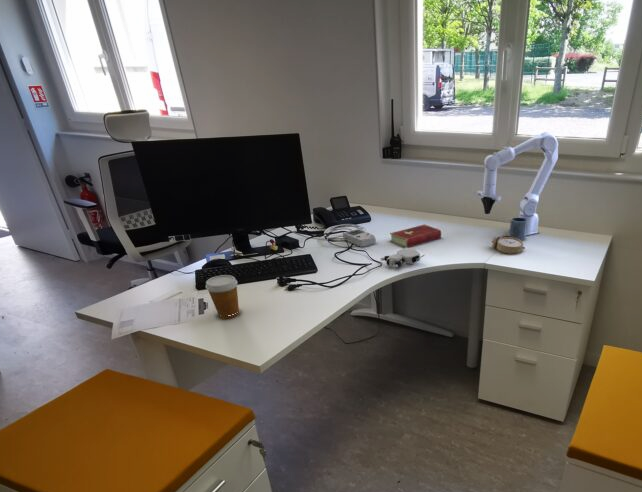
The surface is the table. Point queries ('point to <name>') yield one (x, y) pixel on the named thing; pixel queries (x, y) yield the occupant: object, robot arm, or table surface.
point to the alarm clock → (508, 244)
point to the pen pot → (518, 228)
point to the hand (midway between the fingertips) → (487, 213)
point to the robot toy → (402, 257)
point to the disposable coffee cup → (224, 295)
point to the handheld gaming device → (359, 237)
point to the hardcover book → (415, 235)
